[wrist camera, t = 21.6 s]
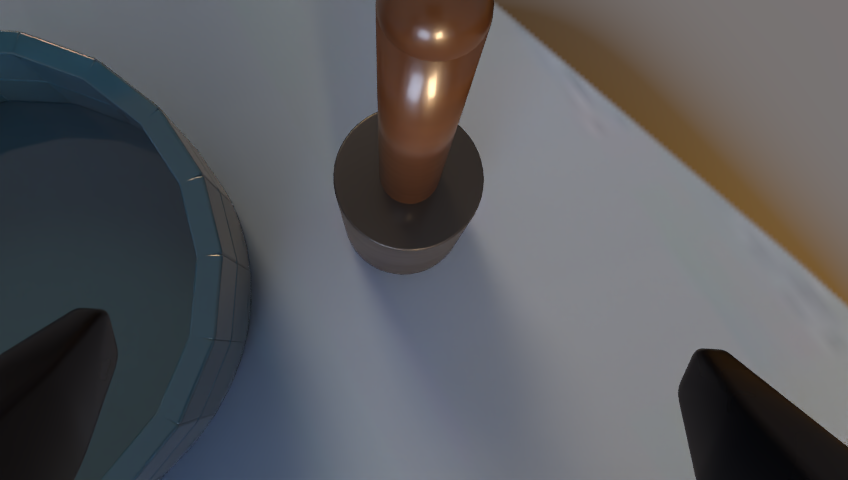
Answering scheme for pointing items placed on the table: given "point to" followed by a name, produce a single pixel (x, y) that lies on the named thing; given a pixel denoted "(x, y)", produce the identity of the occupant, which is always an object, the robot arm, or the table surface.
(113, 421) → the dish
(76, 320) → the robot arm
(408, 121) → the peg on round base
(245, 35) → the table surface
